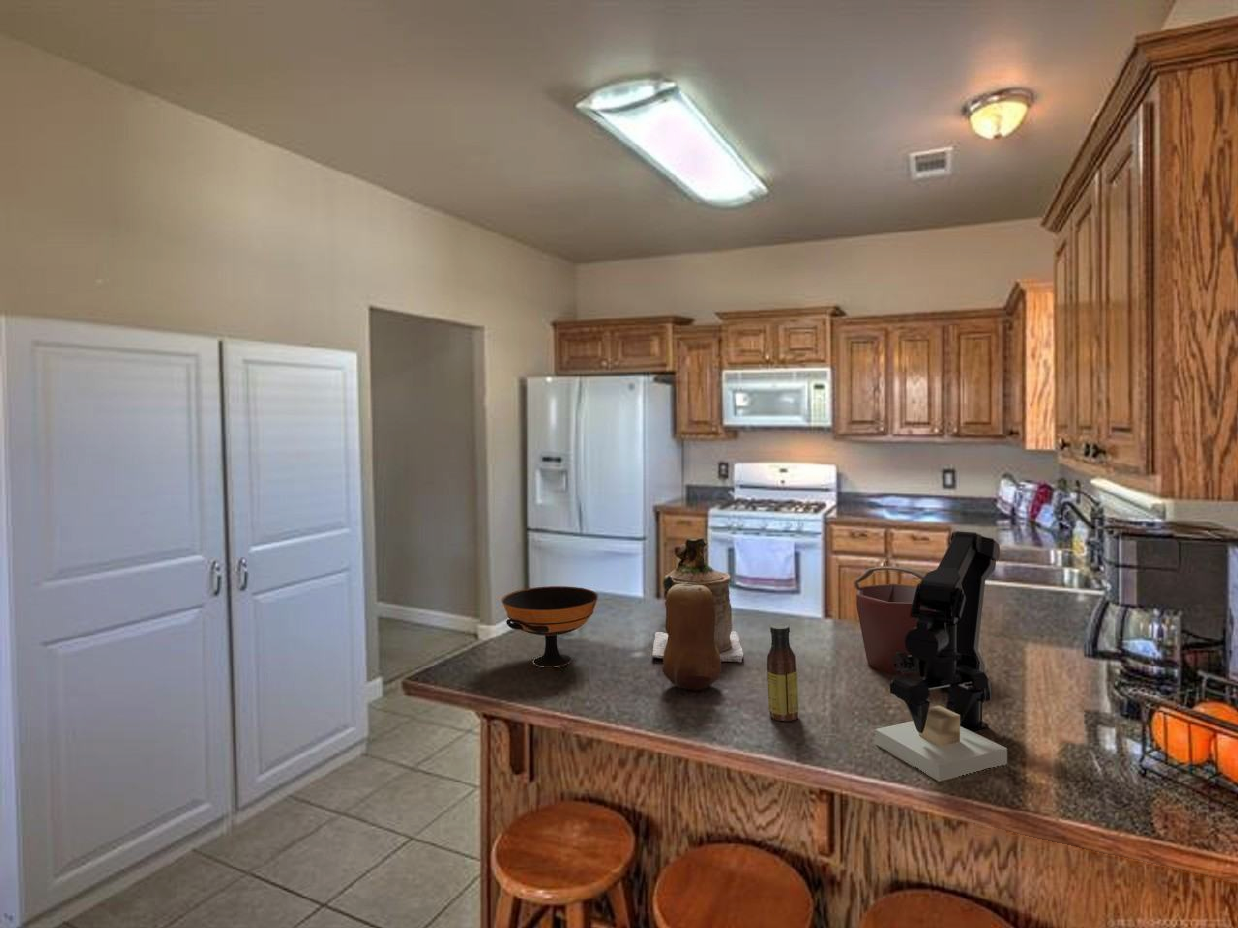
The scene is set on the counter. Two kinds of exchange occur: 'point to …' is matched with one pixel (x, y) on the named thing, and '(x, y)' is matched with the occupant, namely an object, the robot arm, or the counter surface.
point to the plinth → (941, 751)
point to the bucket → (885, 618)
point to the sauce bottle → (782, 676)
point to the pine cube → (941, 726)
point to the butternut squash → (690, 637)
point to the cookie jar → (717, 582)
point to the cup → (549, 615)
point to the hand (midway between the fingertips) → (938, 727)
